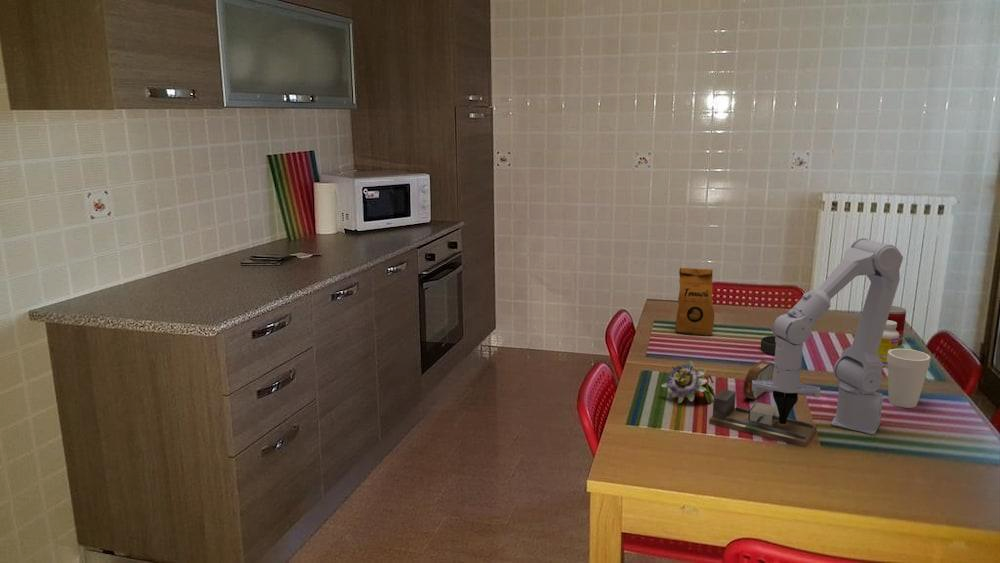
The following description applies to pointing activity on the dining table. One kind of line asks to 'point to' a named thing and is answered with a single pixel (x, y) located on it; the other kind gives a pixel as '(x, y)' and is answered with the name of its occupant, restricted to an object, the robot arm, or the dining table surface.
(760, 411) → the block
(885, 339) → the supplement bottle
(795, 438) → the base
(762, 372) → the tin
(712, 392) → the passion flower
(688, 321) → the coffee package
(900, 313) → the canned food
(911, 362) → the foam cup
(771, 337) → the smart speaker
